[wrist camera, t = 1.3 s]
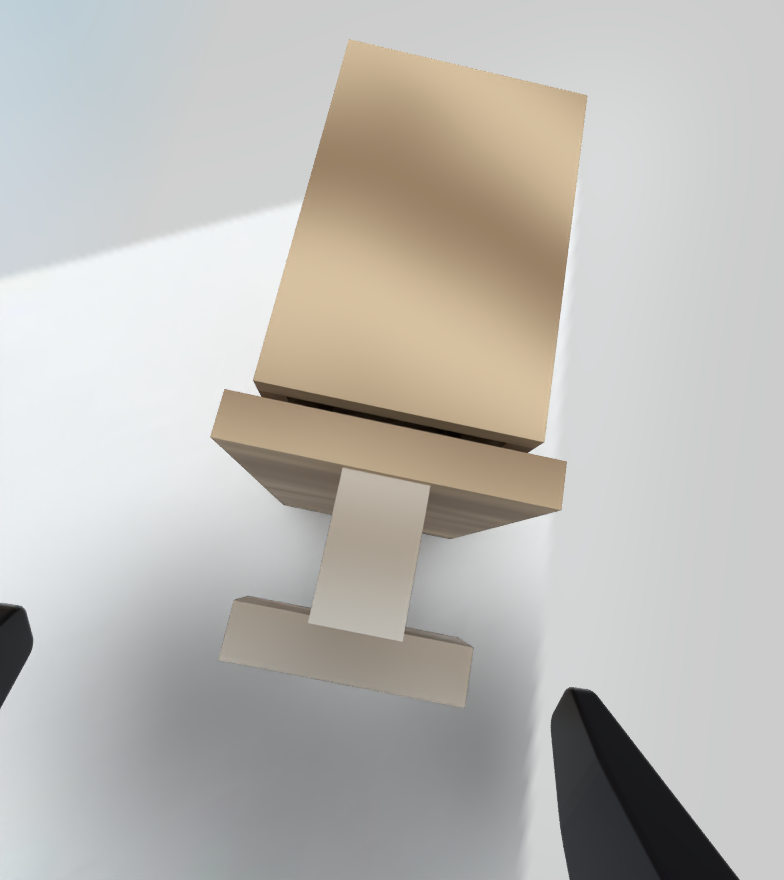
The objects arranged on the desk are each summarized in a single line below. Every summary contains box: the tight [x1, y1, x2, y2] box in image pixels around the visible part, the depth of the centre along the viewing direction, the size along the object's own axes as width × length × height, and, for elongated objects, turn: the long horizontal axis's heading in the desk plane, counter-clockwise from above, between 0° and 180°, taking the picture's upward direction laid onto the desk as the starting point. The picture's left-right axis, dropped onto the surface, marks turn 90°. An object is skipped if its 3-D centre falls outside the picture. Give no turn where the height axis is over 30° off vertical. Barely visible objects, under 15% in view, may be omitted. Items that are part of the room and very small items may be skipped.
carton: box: [253, 39, 587, 453], centre depth 17 cm, size 9×6×12 cm, turn 168°
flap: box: [210, 389, 567, 708], centre depth 15 cm, size 5×7×11 cm
